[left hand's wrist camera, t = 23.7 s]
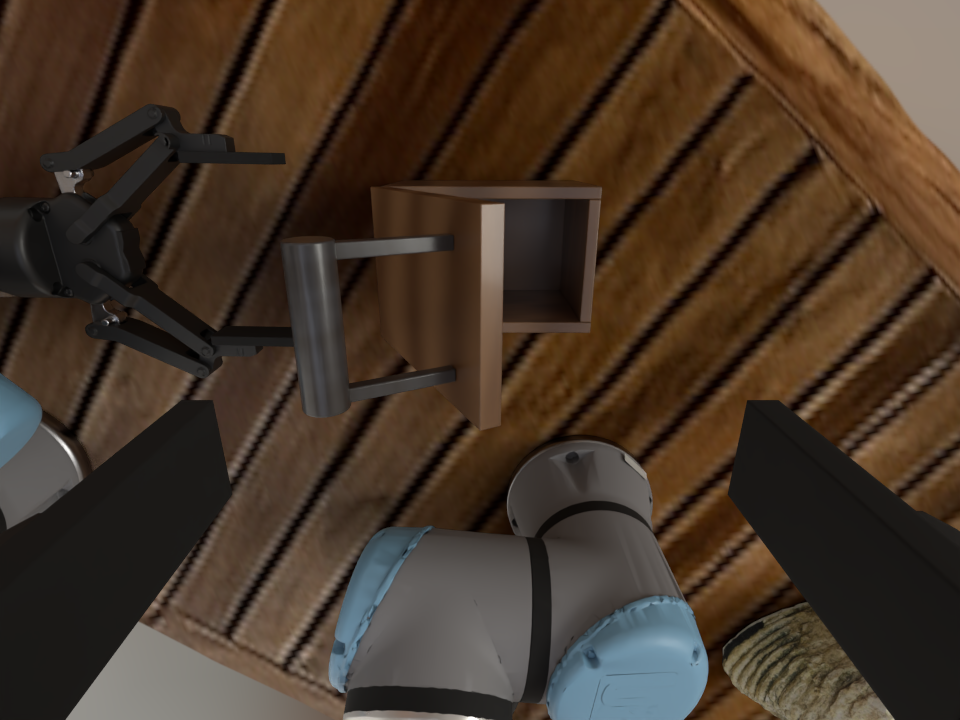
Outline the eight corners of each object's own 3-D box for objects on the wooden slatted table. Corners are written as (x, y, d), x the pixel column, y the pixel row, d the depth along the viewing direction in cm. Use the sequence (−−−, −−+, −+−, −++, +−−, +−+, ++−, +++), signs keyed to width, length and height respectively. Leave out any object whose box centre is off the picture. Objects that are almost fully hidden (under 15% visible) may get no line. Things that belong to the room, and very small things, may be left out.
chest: (574, 180, 44) (602, 186, 34) (566, 296, 48) (590, 333, 38) (403, 180, 44) (380, 186, 34) (408, 296, 48) (389, 332, 38)
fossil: (878, 604, 61) (995, 734, 48) (751, 684, 66) (823, 824, 52) (836, 564, 59) (946, 688, 45) (707, 650, 64) (771, 786, 50)
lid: (505, 203, 21) (285, 211, 17) (501, 425, 25) (319, 471, 21) (387, 186, 34) (247, 189, 30) (396, 334, 38) (272, 352, 34)
